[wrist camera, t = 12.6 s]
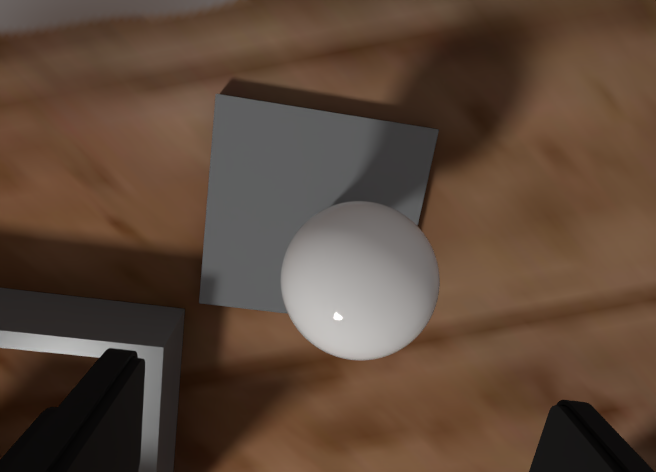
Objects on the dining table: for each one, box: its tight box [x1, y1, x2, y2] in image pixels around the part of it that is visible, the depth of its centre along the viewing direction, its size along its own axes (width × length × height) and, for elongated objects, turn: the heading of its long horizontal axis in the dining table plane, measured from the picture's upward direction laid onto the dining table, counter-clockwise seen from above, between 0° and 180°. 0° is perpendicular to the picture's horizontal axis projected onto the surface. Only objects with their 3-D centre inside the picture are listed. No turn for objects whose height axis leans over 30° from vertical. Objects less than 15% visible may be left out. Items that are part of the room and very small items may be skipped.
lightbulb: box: [281, 201, 440, 360], centre depth 20 cm, size 6×6×11 cm
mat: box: [199, 94, 439, 313], centre depth 26 cm, size 12×12×1 cm
